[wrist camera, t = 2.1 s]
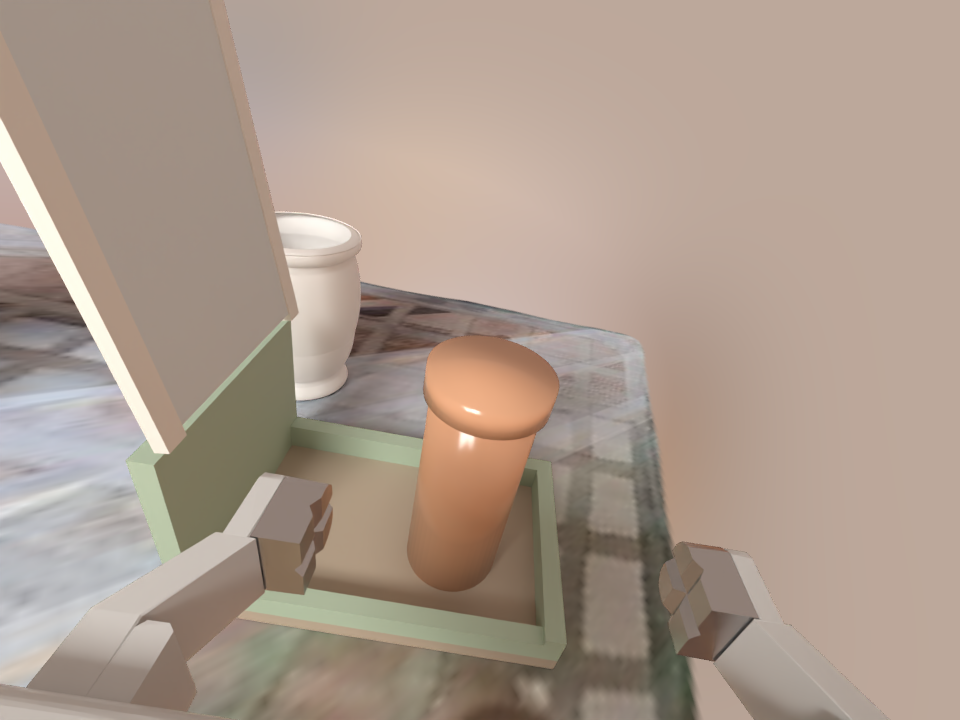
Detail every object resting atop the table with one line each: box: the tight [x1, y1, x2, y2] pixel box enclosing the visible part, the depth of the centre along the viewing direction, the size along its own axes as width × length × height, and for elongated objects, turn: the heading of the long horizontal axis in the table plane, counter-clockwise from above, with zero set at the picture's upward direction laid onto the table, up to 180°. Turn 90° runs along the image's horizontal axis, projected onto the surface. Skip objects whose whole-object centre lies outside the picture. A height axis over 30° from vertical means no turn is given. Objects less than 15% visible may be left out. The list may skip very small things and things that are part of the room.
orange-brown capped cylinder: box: [407, 335, 559, 592], centre depth 27 cm, size 7×7×15 cm
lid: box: [0, 0, 299, 454], centre depth 20 cm, size 19×14×1 cm
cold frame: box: [126, 321, 567, 669], centre depth 29 cm, size 22×14×12 cm, turn 85°
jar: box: [275, 212, 362, 401], centre depth 41 cm, size 11×10×15 cm
